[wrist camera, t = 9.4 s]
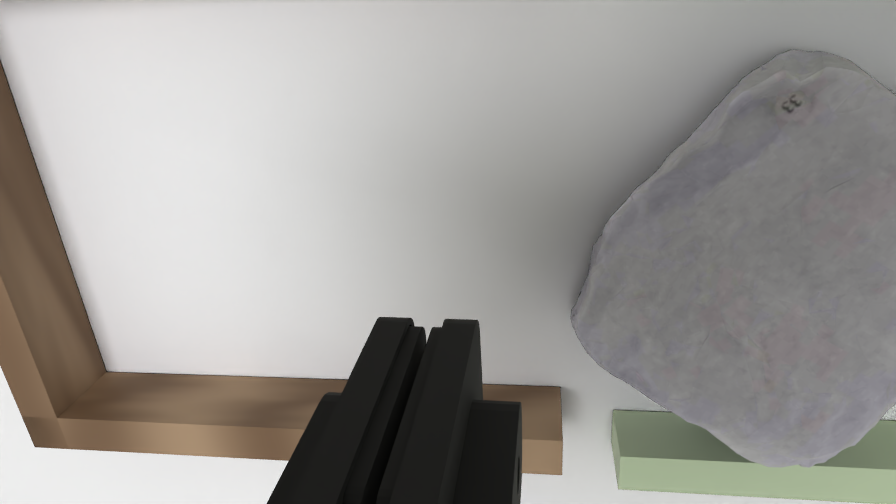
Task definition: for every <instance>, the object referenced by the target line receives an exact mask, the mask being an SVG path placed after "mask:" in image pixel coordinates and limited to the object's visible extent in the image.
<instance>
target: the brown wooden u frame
mask: <svg viewBox="0 0 896 504" xmlns="http://www.w3.org/2000/svg"><path fill="white" fill-rule="evenodd" d="M0 366H1V368H2V371H3V373H4V375H5V378H6V380H7V382H8V385H9V387H10V390H11V392H12V394H13V397H14V399H15V401H16V404H17V406H18V408H19V411H20V413H21V416H22V418H23V420H24V423H25V425H26V427H27V430H28V432H29V434H30V437H31V439H32V442H33V444H34V446H35V447H43V448H61V449H80V450H99V451H118V452H137V453H156V454H174V455H193V456H212V457H231V458H250V459H268V460H287V461H289V460H290V458H291V456H292V454H293V452H294V450H295V448H296V446H297V444H298V442H299V440H300V438H301V436H302V435H303V433H304V431H305V429H306V427H307V425H308V423H309V421H310V419H311V417H312V415H313V413H314V411H315V409H316V408H317V406H318V404H319V402H320V400H321V399H322V397H323V396H324V394H326V393H328V392H337V393H342V392H343V389H344V387H345V385H346V383H347V381H348V380H334V379H303V378H272V377H242V376H211V375H181V374H150V373H120V372H106V370H105V367H104V364H103V361H102V358H101V355H100V352H99V349H98V346H97V344H96V341H95V338H94V335H93V332H92V329H91V326H90V323H89V320H88V317H87V314H86V311H85V308H84V305H83V303H82V300H81V297H80V294H79V291H78V288H77V285H76V282H75V279H74V276H73V273H72V270H71V267H70V264H69V262H68V259H67V256H66V253H65V250H64V247H63V244H62V241H61V238H60V235H59V232H58V229H57V226H56V223H55V221H54V218H53V215H52V212H51V209H50V206H49V203H48V200H47V197H46V194H45V191H44V188H43V185H42V182H41V180H40V177H39V174H38V171H37V168H36V165H35V162H34V159H33V156H32V153H31V150H30V147H29V144H28V141H27V139H26V136H25V133H24V130H23V127H22V124H21V121H20V118H19V115H18V112H17V109H16V106H15V103H14V100H13V98H12V95H11V92H10V89H9V86H8V83H7V80H6V77H5V74H4V71H3V68H2V65H1V62H0ZM482 387H483V400H494V401H514V402H521V406H522V473H532V474H550V475H562V451H563V437H562V415H561V393H560V387H548V386H517V385H486V384H482Z"/></svg>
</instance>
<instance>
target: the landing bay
mask: <svg viewBox="0 0 896 504" xmlns="http://www.w3.org/2000/svg"><path fill="white" fill-rule="evenodd" d="M611 443H612V450H613V457H614V464H615V470H616V477H617V484H618V489H622V490H640V491H658V492H676V493H694V494H712V495H730V496H748V497H766V498H784V499H802V500H820V501H838V502H855V503H873V504H896V421H888V420H879V422H878V423H877V424H876V425H875V427H873V428H872V429H870V430H869V431H868V432H867V434H866V435H865V436H864V437H863V438H862V439H861V440H860V441H859V442H858V443H857V444H856V445H855V446H851V447H848V448H846V449H844V450H842V451H840V452H839V453H838V454H837V455H836V456H834V457H832V458H830V459H829V460H827V461H826V462H824V463H818V464H815V465H813V466H812V467H810V468H807V467H802V466H800V465H792V466H787V467H782V468H779V467H767V466H764V465H762V464H759V463H755V462H752V461H749V460H747V459H746V458H744V457H742V456H740V455H739V454H737V453H736V452H734V451H733V450H732V449H731V448H729V447H728V446H727V445H726V444H724V443H723V442H721V441H720V440H719V439H717V438H716V437H715V436H713V435H712V434H711V433H710V432H709V431H707V430H706V429H704V428H702V427H700V426H698V425H695V424H692V423H689V422H687V421H685V420H684V419H682V418H681V417H680V416H678V415H676V414H674V413H672V412H649V411H622V410H613V419H612V436H611Z"/></svg>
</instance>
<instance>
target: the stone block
mask: <svg viewBox="0 0 896 504" xmlns="http://www.w3.org/2000/svg"><path fill="white" fill-rule="evenodd" d="M571 322H572V325H573V328H574V330H575V332H576V335H577V337H578V339H579V340H580V342H581V344H582V345H583V347H584V349H585V350H586V352H587V353H588V354H589V355H590V356H591V357H592V358H593V359H594V360H595V361H596V362H597V363H598V365H599V366H600V367H602V368H603V369H605V370H607V371H608V372H609V373H610V374H612V375H614V376H615V377H617V378H619V379H621V380H623V381H625V382H626V383H628V384H630V385H631V386H632V387H634V388H635V389H637V390H639V391H640V392H641V393H643V394H644V395H646V396H647V397H649V398H650V399H651V400H653V401H655V402H656V403H658V404H659V405H661V406H662V407H664V408H666V409H667V410H669V411H671V412H672V413H674V414H676V415H678V416H680V417H681V418H682V419H684V420H685V421H687V422H689V423H692V424H695V425H698V426H700V427H702V428H704V429H706V430H707V431H709V432H710V433H711V434H712V435H713V436H715V437H716V438H717V439H719V440H720V441H721V442H723V443H724V444H726V445H727V446H728V447H729V448H731V449H732V450H733V451H734V452H736V453H737V454H739V455H740V456H742V457H744V458H746V459H747V460H749V461H752V462H755V463H759V464H762V465H764V466H767V467H779V468H782V467H787V466H792V465H800V466H802V467H807V468H810V467H812V466H813V465H815V464H818V463H824V462H826V461H827V460H829V459H830V458H832V457H834V456H836V455H837V454H838V453H839V452H840V451H842V450H844V449H846V448H848V447H851V446H855V445H856V444H857V443H858V442H859V441H860V440H861V439H862V438H863V437H864V436H865V435H866V434H867V432H868V431H869V430H870V429H872V428H873V427H875V425H876V424H877V423H878V422H879V420H880V419H881V418H882V417H883V416H884V414H885V413H886V412H887V411H888V410H889V409H890V408H891V407H892V406H894V405H895V404H896V95H895V94H893V93H892V92H891V91H889V90H888V89H887V88H885V87H884V86H883V85H881V84H880V83H879V82H877V81H876V80H875V79H873V78H872V77H871V76H870V75H868V74H867V73H866V72H864V71H863V70H862V69H861V68H859V67H858V66H857V65H855V64H854V63H853V62H852V61H850V60H847V59H844V58H841V57H838V56H836V55H833V54H830V53H826V52H821V51H816V52H806V51H801V50H797V49H796V50H789V51H786V52H784V53H781V54H779V55H776V56H775V57H774V58H773V59H772V60H771V61H769V62H767V63H766V64H764V65H762V66H761V67H759V68H757V69H755V70H754V71H752V72H751V73H749V74H748V75H747V76H745V77H744V78H742V79H741V80H740V82H739V84H738V85H737V86H735V87H734V88H733V89H732V90H731V91H730V92H729V93H728V95H727V96H726V97H725V98H724V99H723V100H722V101H721V102H720V103H719V105H718V106H717V107H716V108H715V109H713V110H712V112H711V113H710V114H709V115H708V117H707V118H706V119H705V120H704V121H703V122H702V123H701V125H700V126H699V127H698V128H697V129H696V130H695V131H694V132H693V133H692V134H691V136H690V137H689V138H688V139H687V141H686V142H685V143H683V144H681V145H680V146H679V147H678V148H676V149H675V150H674V151H672V153H671V154H670V155H669V156H668V157H667V158H666V159H665V161H664V163H663V164H662V165H661V166H660V168H659V169H658V170H657V171H656V172H655V173H654V174H653V175H652V176H651V177H650V178H648V179H647V180H646V181H645V182H644V183H642V184H641V185H639V186H638V187H637V188H636V189H635V190H634V191H633V193H632V194H631V195H630V196H629V197H628V199H627V200H626V201H625V202H624V203H623V204H622V206H621V207H620V208H619V209H618V210H617V211H616V212H615V213H614V214H613V215H612V216H611V217H610V219H609V220H608V222H607V223H606V225H605V227H604V229H603V232H602V235H601V236H600V237H599V238H598V240H597V242H596V243H595V244H594V245H593V251H592V256H591V261H590V266H589V272H588V277H587V279H586V281H585V282H584V285H583V287H582V289H581V292H580V295H579V297H578V299H577V302H576V304H575V306H574V307H573V309H572V310H571Z"/></svg>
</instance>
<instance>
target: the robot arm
mask: <svg viewBox="0 0 896 504" xmlns="http://www.w3.org/2000/svg"><path fill="white" fill-rule="evenodd" d="M521 479H522V406H521V402H514V401H494V400H483V387H482V367H481V346H480V328H479V321H478V320H464V319H445V320H444V323H443V326H442V327H433V328H432V329H431V332H430V335H429V338H428V341H427V344H426V334H425V329H424V327H414V322H413V319H412V318H396V317H379V318H378V319H377V321H376V323H375V325H374V327H373V329H372V331H371V333H370V335H369V337H368V339H367V341H366V343H365V346H364V348H363V350H362V352H361V354H360V356H359V358H358V360H357V362H356V364H355V366H354V369H353V371H352V373H351V375H350V377H349V379H348V381H347V383H346V385H345V387H344V389H343V392H342V393H337V392H328V393H326V394H324V396H323V397H322V399H321V400H320V402H319V404H318V406H317V408H316V409H315V411H314V413H313V415H312V417H311V419H310V421H309V423H308V425H307V427H306V429H305V431H304V433H303V435H302V436H301V438H300V440H299V442H298V444H297V446H296V448H295V450H294V452H293V454H292V456H291V458H290V460H289V462H288V464H287V465H286V467H285V469H284V471H283V473H282V475H281V477H280V479H279V481H278V483H277V485H276V487H275V489H274V491H273V493H272V494H271V496H270V498H269V500H268V502H267V504H520V498H521Z"/></svg>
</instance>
